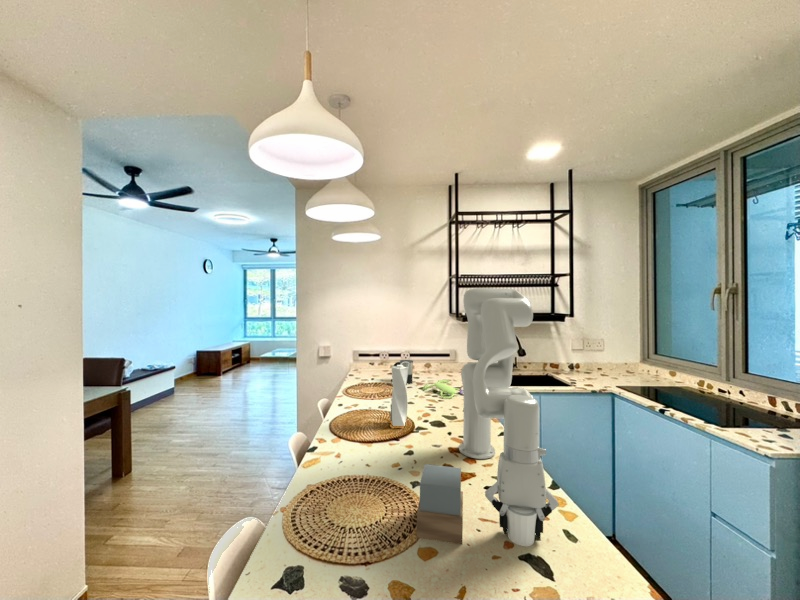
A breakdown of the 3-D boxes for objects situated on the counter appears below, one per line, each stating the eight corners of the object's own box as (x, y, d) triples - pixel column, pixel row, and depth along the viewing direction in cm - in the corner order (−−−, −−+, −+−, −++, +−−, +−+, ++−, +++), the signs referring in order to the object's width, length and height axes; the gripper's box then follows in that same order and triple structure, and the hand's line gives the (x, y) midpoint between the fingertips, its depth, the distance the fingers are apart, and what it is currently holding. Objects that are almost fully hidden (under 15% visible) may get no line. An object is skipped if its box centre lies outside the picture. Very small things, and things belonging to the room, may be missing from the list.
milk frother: (413, 381, 222) (413, 359, 222) (412, 387, 206) (412, 363, 207) (392, 380, 223) (393, 359, 224) (390, 386, 208) (390, 363, 208)
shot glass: (529, 526, 76) (529, 496, 76) (543, 548, 69) (543, 515, 69) (500, 526, 76) (500, 496, 76) (511, 548, 69) (511, 515, 69)
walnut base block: (422, 510, 82) (422, 486, 82) (462, 516, 80) (462, 491, 80) (416, 538, 72) (417, 511, 72) (462, 545, 70) (462, 517, 70)
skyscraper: (408, 423, 143) (409, 360, 143) (408, 430, 135) (409, 363, 135) (390, 422, 143) (390, 359, 144) (388, 429, 135) (389, 363, 136)
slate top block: (424, 488, 81) (424, 464, 81) (460, 492, 79) (460, 468, 79) (419, 510, 72) (419, 483, 72) (460, 515, 71) (460, 488, 71)
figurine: (443, 386, 211) (443, 377, 211) (471, 396, 187) (471, 386, 187) (419, 389, 202) (419, 380, 202) (445, 400, 178) (445, 390, 178)
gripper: (557, 448, 75) (557, 526, 74) (480, 441, 78) (480, 516, 78) (567, 464, 67) (567, 551, 67) (482, 455, 71) (482, 538, 70)
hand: (520, 531), depth 72 cm, fingers closed on shot glass, 6 cm apart
